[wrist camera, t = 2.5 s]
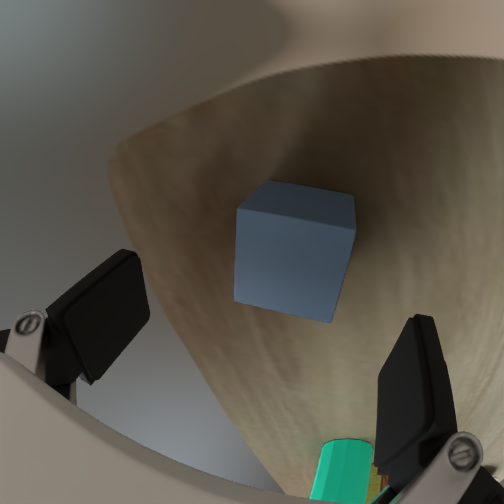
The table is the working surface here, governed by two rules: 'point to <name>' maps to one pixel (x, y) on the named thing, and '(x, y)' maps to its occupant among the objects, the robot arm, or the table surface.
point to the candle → (343, 472)
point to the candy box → (375, 484)
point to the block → (293, 249)
